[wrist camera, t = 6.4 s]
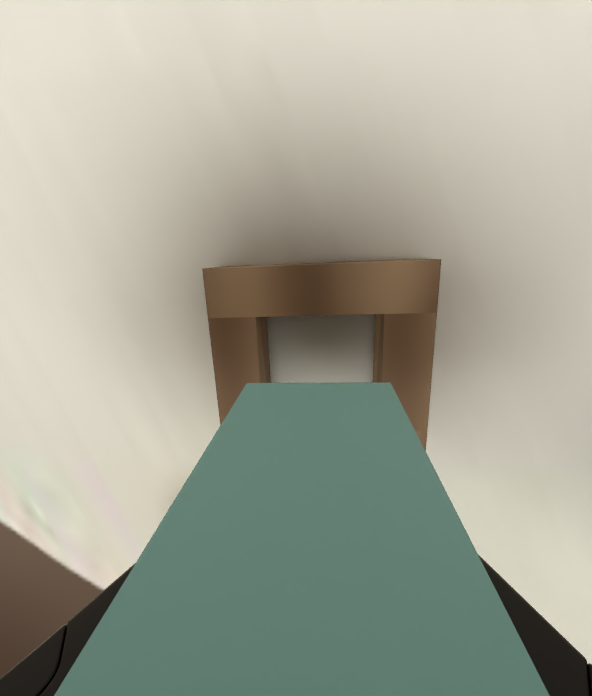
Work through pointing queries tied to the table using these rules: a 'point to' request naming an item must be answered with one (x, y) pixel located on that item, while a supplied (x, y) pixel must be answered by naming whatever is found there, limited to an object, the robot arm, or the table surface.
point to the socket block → (327, 299)
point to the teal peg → (308, 568)
